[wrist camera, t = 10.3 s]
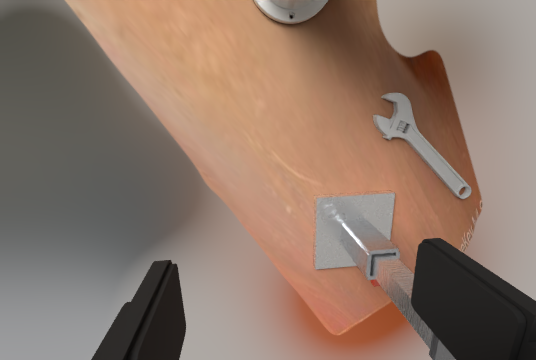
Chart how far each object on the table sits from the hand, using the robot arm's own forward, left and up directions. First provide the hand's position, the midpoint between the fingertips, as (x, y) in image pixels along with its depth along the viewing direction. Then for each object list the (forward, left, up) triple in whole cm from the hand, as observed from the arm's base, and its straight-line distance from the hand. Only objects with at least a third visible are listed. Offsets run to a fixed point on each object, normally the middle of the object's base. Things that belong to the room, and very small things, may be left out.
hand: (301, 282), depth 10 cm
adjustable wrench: (+3, +29, -35) cm, 45 cm away
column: (+16, +17, -28) cm, 36 cm away
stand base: (+16, +17, -34) cm, 41 cm away
